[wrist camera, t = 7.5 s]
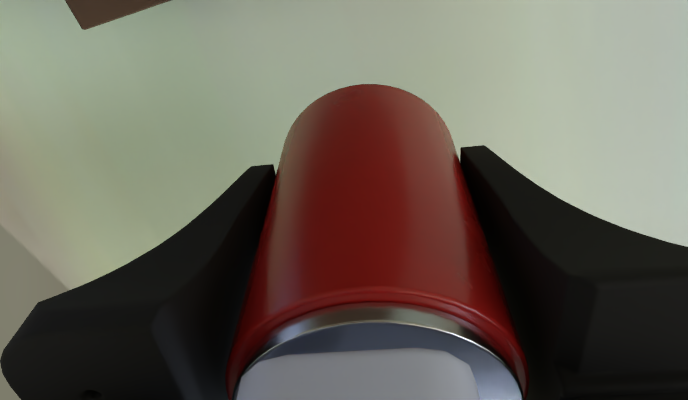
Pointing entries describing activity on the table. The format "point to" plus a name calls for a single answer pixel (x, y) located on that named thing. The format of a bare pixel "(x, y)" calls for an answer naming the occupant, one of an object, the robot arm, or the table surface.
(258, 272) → the can
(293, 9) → the table surface
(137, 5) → the cabinet
